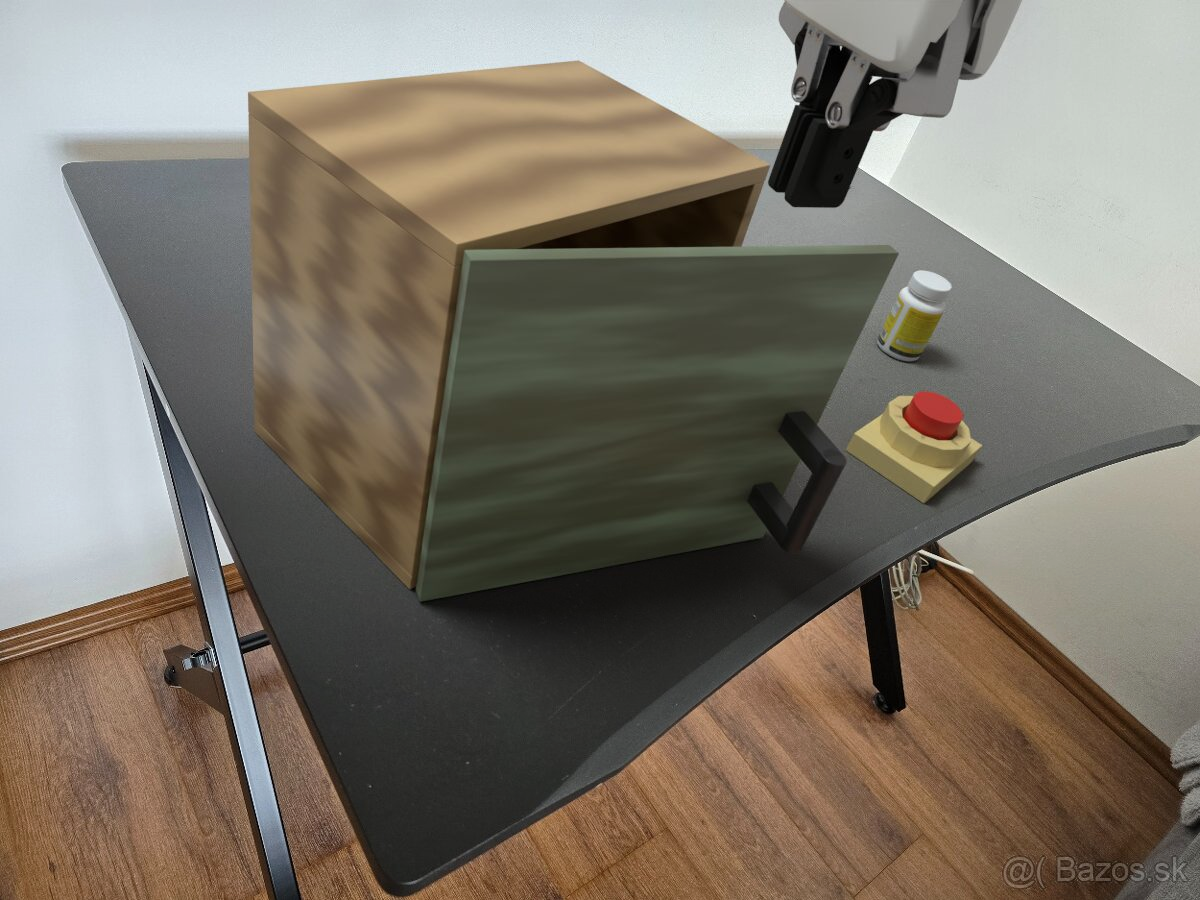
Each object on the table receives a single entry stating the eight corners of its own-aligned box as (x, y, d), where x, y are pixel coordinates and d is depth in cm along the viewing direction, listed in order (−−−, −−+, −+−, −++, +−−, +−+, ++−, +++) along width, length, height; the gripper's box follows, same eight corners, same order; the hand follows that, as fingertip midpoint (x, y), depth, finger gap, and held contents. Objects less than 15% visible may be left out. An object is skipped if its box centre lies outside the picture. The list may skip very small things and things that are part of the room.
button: (917, 403, 82) (927, 385, 80) (960, 430, 80) (971, 412, 78) (894, 419, 79) (904, 400, 77) (938, 448, 77) (949, 429, 76)
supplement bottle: (928, 359, 96) (965, 290, 91) (898, 365, 94) (935, 295, 88) (896, 334, 99) (930, 265, 94) (866, 339, 96) (900, 270, 91)
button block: (897, 413, 86) (916, 380, 84) (972, 461, 83) (993, 428, 80) (845, 450, 80) (863, 414, 77) (923, 504, 76) (945, 468, 74)
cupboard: (670, 446, 75) (771, 164, 60) (409, 590, 57) (457, 244, 42) (523, 334, 82) (578, 59, 67) (254, 431, 65) (247, 91, 50)
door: (802, 590, 65) (959, 302, 50) (444, 671, 53) (510, 325, 38) (756, 528, 69) (889, 244, 54) (415, 590, 57) (464, 249, 42)
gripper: (1234, -222, 29) (963, 279, 40) (930, -285, 39) (781, 133, 50) (1079, -281, 26) (832, 284, 37) (789, -333, 35) (665, 126, 47)
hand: (804, 196), depth 44 cm, fingers closed
